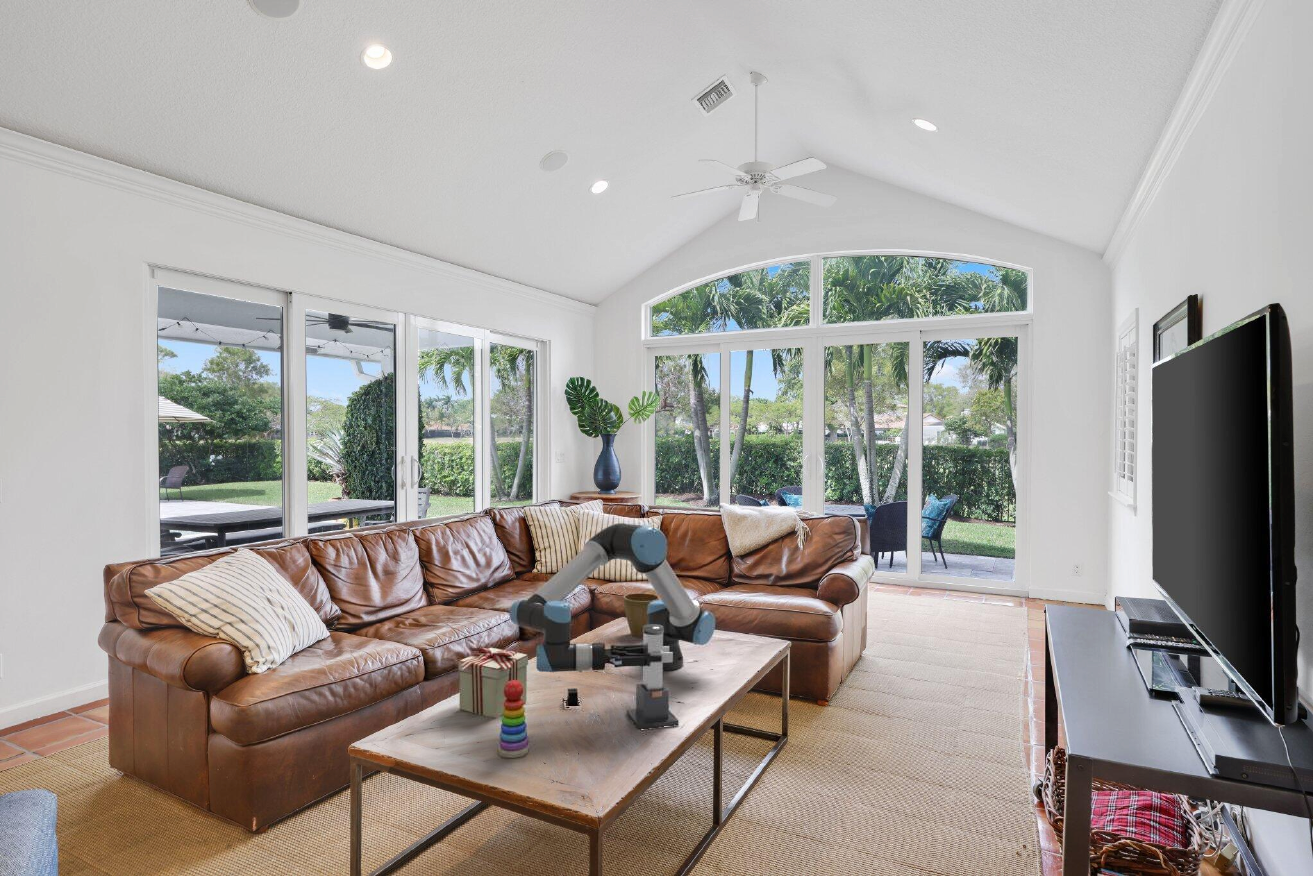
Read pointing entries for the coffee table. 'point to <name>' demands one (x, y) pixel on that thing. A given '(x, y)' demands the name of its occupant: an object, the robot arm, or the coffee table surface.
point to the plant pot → (637, 611)
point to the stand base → (651, 709)
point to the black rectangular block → (572, 698)
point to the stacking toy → (513, 723)
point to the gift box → (490, 679)
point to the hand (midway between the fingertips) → (670, 654)
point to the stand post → (652, 645)
